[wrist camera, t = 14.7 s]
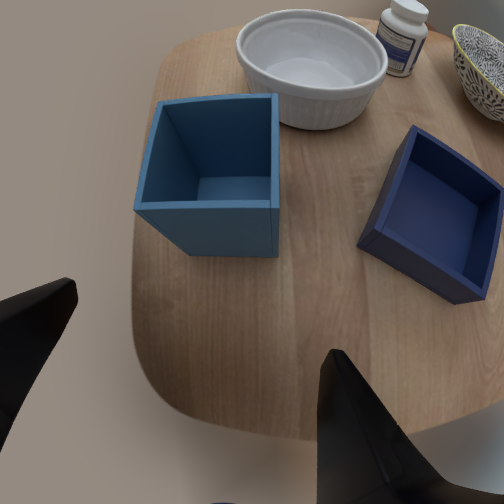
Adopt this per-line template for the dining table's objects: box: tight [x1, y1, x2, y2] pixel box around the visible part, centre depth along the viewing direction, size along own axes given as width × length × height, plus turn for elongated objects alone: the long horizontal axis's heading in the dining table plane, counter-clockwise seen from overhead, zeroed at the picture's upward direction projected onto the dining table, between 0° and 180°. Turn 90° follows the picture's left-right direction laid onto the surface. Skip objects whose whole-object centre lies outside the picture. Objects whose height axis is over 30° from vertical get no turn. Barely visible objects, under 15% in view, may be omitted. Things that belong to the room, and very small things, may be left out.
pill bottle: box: [376, 0, 428, 76], centre depth 22 cm, size 5×5×10 cm
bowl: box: [453, 24, 504, 123], centre depth 21 cm, size 16×16×8 cm
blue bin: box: [133, 93, 280, 257], centre depth 19 cm, size 7×7×10 cm
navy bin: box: [357, 125, 504, 305], centre depth 20 cm, size 10×10×4 cm
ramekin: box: [236, 9, 388, 130], centre depth 23 cm, size 13×13×7 cm
